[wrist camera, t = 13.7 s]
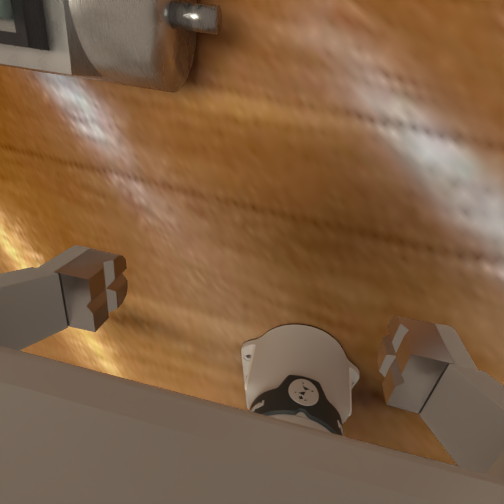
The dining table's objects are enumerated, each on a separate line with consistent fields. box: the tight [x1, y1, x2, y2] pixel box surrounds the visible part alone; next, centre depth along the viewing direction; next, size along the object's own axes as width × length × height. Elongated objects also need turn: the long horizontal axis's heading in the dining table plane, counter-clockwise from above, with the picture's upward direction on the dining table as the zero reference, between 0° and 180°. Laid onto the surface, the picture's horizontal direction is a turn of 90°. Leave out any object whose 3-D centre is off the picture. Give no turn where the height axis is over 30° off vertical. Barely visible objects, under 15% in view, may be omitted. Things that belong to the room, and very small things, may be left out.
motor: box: [0, 0, 222, 92], centre depth 28 cm, size 12×26×16 cm, turn 82°
